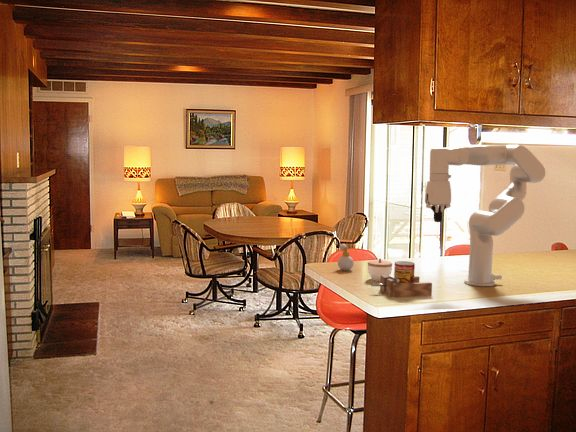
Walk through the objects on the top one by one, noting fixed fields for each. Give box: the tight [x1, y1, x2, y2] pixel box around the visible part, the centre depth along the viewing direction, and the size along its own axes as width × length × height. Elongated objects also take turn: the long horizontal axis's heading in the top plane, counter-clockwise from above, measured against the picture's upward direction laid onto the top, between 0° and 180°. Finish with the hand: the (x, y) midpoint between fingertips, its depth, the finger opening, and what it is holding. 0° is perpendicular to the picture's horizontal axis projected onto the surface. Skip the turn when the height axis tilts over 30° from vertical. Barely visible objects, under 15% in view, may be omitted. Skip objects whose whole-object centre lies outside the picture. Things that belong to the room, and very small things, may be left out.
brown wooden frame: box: [379, 275, 433, 298], centre depth 247 cm, size 17×14×6 cm
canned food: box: [393, 260, 416, 283], centre depth 247 cm, size 8×8×12 cm
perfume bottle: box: [337, 243, 354, 271], centre depth 292 cm, size 8×10×12 cm
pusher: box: [370, 274, 400, 287], centre depth 245 cm, size 10×9×6 cm
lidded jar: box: [367, 258, 393, 282], centre depth 271 cm, size 11×11×9 cm
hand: (437, 221), depth 257 cm, fingers closed
